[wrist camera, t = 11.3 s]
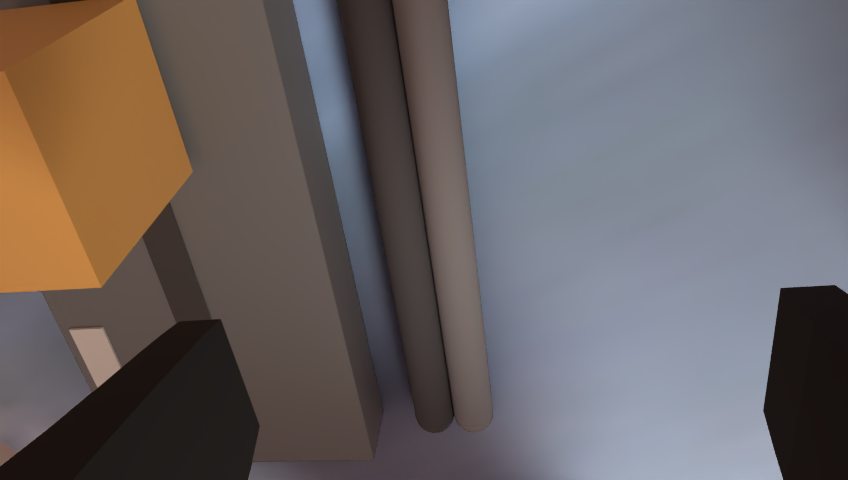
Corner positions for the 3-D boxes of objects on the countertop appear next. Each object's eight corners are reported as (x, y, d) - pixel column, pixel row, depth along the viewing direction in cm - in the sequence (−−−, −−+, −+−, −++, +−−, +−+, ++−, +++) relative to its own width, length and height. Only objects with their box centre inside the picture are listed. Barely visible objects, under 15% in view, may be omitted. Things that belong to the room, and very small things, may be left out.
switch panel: (383, 411, 24) (373, 462, 22) (153, 416, 25) (127, 465, 23) (262, -139, 15) (230, -128, 13) (-77, -90, 16) (-146, -75, 15)
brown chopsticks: (494, 410, 23) (494, 440, 22) (420, 412, 23) (416, 441, 22) (431, -169, 15) (426, -164, 14) (316, -152, 15) (302, -147, 14)
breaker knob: (193, 171, 17) (101, 287, 13) (73, 180, 17) (-49, 295, 13) (134, -6, 15) (3, 70, 11) (-1, 10, 15) (-170, 88, 11)
